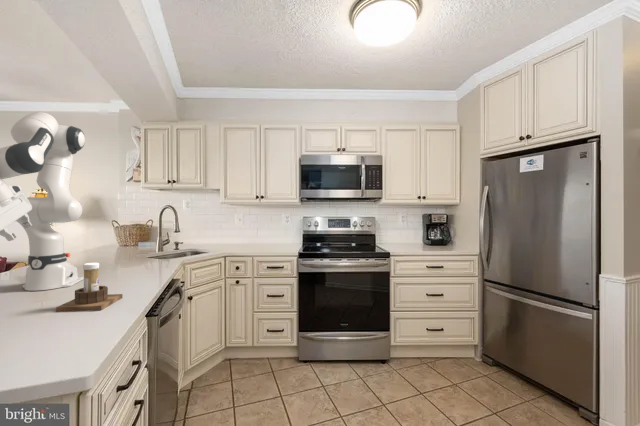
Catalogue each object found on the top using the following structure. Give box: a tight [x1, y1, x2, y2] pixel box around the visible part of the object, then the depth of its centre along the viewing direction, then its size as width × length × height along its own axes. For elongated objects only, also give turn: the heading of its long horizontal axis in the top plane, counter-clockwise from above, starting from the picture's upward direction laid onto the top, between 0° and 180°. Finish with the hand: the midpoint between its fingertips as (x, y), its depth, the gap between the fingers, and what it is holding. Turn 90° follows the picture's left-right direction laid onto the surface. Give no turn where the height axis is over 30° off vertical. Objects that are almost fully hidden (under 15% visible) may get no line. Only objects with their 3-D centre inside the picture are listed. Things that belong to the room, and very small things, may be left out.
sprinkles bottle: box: [82, 262, 100, 292], centre depth 109 cm, size 5×5×13 cm
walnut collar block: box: [55, 285, 123, 313], centre depth 109 cm, size 14×14×6 cm
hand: (20, 233), depth 101 cm, fingers open, 8 cm apart
